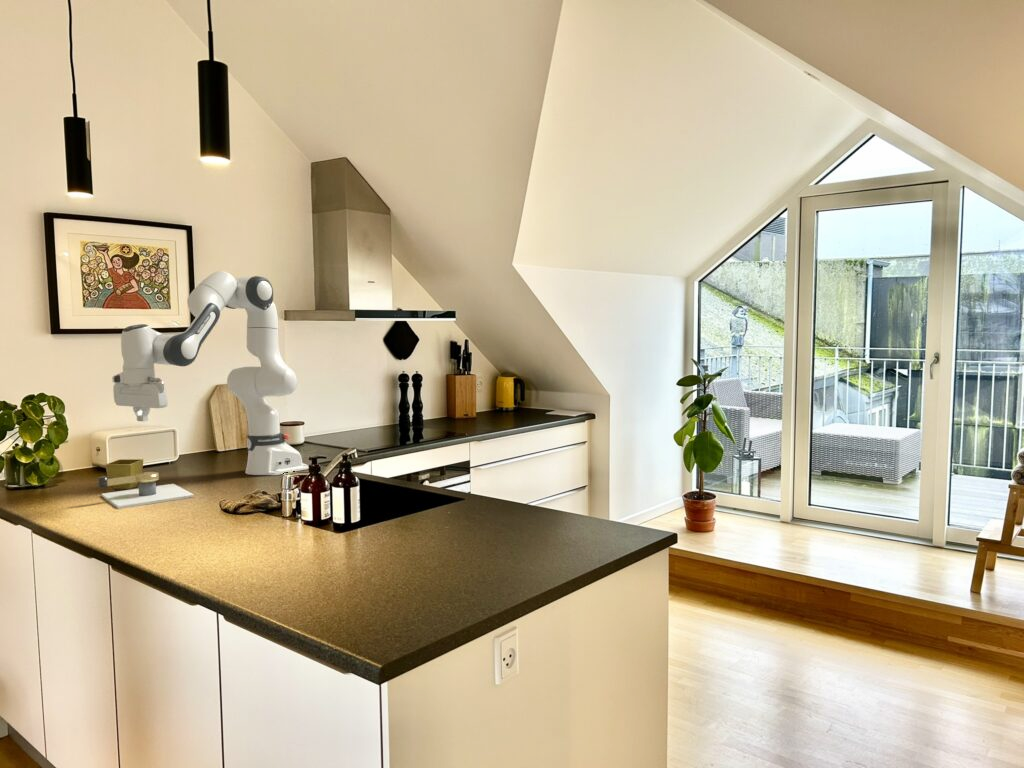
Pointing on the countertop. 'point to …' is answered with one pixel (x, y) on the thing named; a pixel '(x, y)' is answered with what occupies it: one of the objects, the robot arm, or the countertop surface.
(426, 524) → the countertop surface
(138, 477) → the locking lever
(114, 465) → the flower pot
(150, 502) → the base
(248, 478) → the countertop surface
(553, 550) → the countertop surface
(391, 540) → the countertop surface
